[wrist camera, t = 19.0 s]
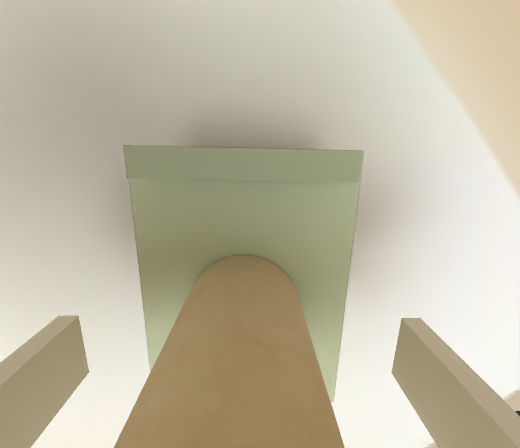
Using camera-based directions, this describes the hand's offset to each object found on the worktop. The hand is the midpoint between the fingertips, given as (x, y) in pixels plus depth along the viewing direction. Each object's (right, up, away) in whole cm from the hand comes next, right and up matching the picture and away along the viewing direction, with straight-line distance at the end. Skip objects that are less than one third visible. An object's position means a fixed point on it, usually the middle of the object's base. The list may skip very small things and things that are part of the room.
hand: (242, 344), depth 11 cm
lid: (0, +2, +4) cm, 4 cm away
